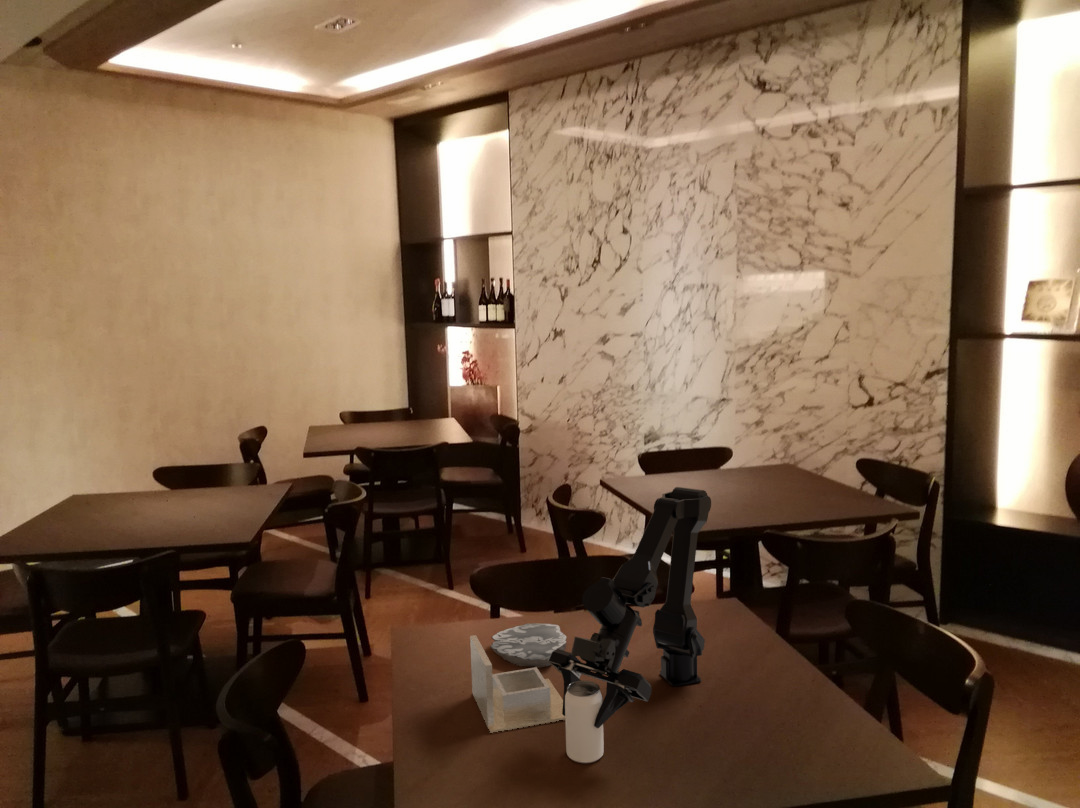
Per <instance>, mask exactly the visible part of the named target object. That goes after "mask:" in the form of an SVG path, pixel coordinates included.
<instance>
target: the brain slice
mask: <svg viewBox="0 0 1080 808" xmlns="http://www.w3.org/2000/svg"><path fill="white" fill-rule="evenodd" d="M491 639H492V640H493V642H491V644H490V648H491V649H492V651H493V652H494V653H495V654H497V655H498V656H501V657H502V658H503V659H504V661H506V660H507V661H506V662H510V663H511V664H512V663H513V664H512V665H515V664H516V665H515V666H518V665H519V667H522V666H529V667H533V666H534V667H533V668H535V667H538V668H539V669H541V668H540V667H542V668H544V666H546V668H547V667H550V666H552V665H551V664H550V663H549V662H548V659H549V657H550V655H551V653H552V652H553V651H554V650H556V649H559V650H563V651H566V647H567V635H566V634H564V632H562V631H561V627H560V626H559V624H553V623H524V624H523V625H516V626H514V627H510V628H506V629H503V630H502V631H501V630H500V631H498V632H496V633H495V634H493V635H492V636H491ZM538 668H537V669H538Z"/></svg>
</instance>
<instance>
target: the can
mask: <svg viewBox="0 0 1080 808" xmlns="http://www.w3.org/2000/svg"><path fill="white" fill-rule="evenodd" d="M603 700H604V698H603V694H602V692H601V688H600V685H599V684H597V683H596V682H594V681H591V680H581V681H576V682H573V683H571V684H569V685H568V687H567V693H566V695H565V720H564V721H565V750H566V754H567V757H568V758H569V759H571V760H572V761H573V762H575V763H579V764H592V763H595V762H597V761H599V760H600V759H601V758H602V757H603V755H604V749H605V748H604V746H605V745H604V723H603V724H602V725H601V726H600V727H599V728H596V727H595V726H594V724H595V720H596V717H597V715H598V712H599V710H600V708H601V705H602V703H603Z"/></svg>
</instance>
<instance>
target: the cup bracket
mask: <svg viewBox="0 0 1080 808" xmlns="http://www.w3.org/2000/svg"><path fill="white" fill-rule="evenodd" d="M469 640H470V643H469V646H470V664H471V665H470V667H471V670H470V671H471V687H472V688H471V689H472V690H471V691H472V696H473V698H474V700H475V702H477V703H476V704H477V706H478V707H477V708H478V710H479V712H480V711H481V712H480V713H481V716H482V718H483V721H484V720H485V721H484V724H485V725H486V727H487V730H488V729H489V730H488V732H489V731H490V732H489V734H490V733H492V734H494V733H493V732H497V733H499V732H498V731H502V732H505V731H504V730H508V731H513V730H518V729H517V728H519V729H523V727H524V728H529V727H528V726H530V727H534V725H535V726H540V725H539V724H541V725H545V723H546V724H551V723H550V722H552V723H555V722H556V721H557V722H560V721H559V720H563V721H565V716H564V715H563V714H562V710H563V697H562V696H561V695H560V693H559V692H558V691H557V689H556V688H555V686H554V684H553V683H552V681H551V680H550V679H549V678H544V676H543V675H542V673H541V672H540V669H538V668H537V667H530V668H529V667H528V668H524V669H517V670H511V671H506V672H503V671H502V672H498V673H497V672H496V673H493V664H492V662H491V660H490V659H489V657H488V655H487V653H486V651H485V649H484V647H483V645H482V644H481V642H480V640H479V638H478V637H477V635H476V634H475V635H474V634H473V635H470V636H469ZM512 729H513V730H512Z"/></svg>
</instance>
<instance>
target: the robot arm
mask: <svg viewBox="0 0 1080 808" xmlns="http://www.w3.org/2000/svg"><path fill="white" fill-rule="evenodd" d="M661 496H662V497H661ZM661 496H660V497H658V498H656V500H655V501H654V505H653V512H652V514H651V516H650V518H649V522H648V524H647V525H646V527H645V529H644V531H643V534H642V536H641V538H640V541H639V543H638V545H637V547H636V549H635V552H634V554H633V556H632V557H631V558H630V559H628V560H627V561H625V562H624V563H623V564H621V566H620V567H619V569H618V571H617V572H616V574H615V576H614V577H613V578H608V577H603V576H601V577H600V580H599V581H598V582H595V583H592V584H591V585H590V586H589V587H587V588H586V590H584V591H583V593H582V596H581V597H582V598H581V599H582V600H581V602H582V605H583V607H584V609H585V610H586V611H587V612H588V613H589V614H590V615H591V616H592V618H594V619H595V621H597V623H599V624H600V625H601V626H600V629H599V630H598V632H593V634H592V635H591V636H590V638H587V637H586V638H585V637H580V636H574V638H573V644H572V648H571V652H570V651H569V652H568V651H566V650H564V651H563V650H559V649H556V650H554V651H553V652H552V653H551V655H550V657H549V659H548V662H549V663H550V664H551V665H550V666H552V667H553V668H554V669H556V671H558V672H559V673H560V674H561V675H562V678H563V679H562V680H563V697H562V699H563V710H562V714H563V715H564V716H565V695H566V693H567V687H568V685H569V684H571V683H573V682H576V681H582V680H581V676H582V675H583V676H587V677H590V678H592V679H593V678H594V679H597V680H600V681H602V682H606V691H605V696H604V698H603V703H602V705H601V708H600V710H599V712H598V715H597V717H596V720H595V724H594V726H595V727H596V728H599V727H600V726H601V725H602V724H603V725H604V724H605V723H606V721H608V720H609V719H610V718H611V717H612V716H613V715H614V714H615V713H616V712H618V711H619V710H620V709H622V708H623V707H624V706H625V705H627V704H628V703H629V702H630V703H634V701H635V699H637V700H641V701H644V702H649V700H650V698H651V695H652V686H651V683H649V681H648V680H647V679H646V678H645V677H644V676H643V675H642V674H641V673H638V672H636V671H631V670H628V669H625V668H623V669H622V670H620V671H619V669H620V668H621V665H622V662H623V659H624V658H628V657H629V655H630V653H631V652H630V651H629V650H628V647H629V646H630V645H629V644H630V642H631V639H632V637H633V634H634V632H635V629H636V627H642V626H643V622H642V618H641V616H640V611H639V610H636V609H633V608H632V607H631V606H634V607H639V608H642V609H643V608H645V607H649V606H650V605H651V604H652V602H653V601H654V600H655V597H656V594H657V593H656V592H657V591H656V590H657V588H658V585H659V579H658V575H657V571H658V567H659V565H660V562H661V560H662V558H663V556H664V553H665V550H666V548H667V546H668V544H669V541H670V539H671V537H672V544H671V545H672V546H671V553H670V554H671V555H670V563H669V571H668V581H667V582H668V583H667V592H666V600H665V602H664V603H663V605H662V606H661V607H660V609H659V608H658V609H656V610H655V613H654V623H653V627H652V634H653V639H654V643H655V646H656V649H661V650H662V656H660V670H659V674H660V676H662V677H663V679H664V680H666V682H668V683H669V684H670V685H671V686H672V687H678V686H685V685H691V684H696V683H701V682H702V678H701V677H700V676H699V675H698V657H699V656H703V651H704V649H705V642H706V641H705V640H706V639H705V638H704V637H703V636H702V634H701V633H700V632H699V630H698V629H697V628H698V627H697V626H698V618H697V616H696V613H695V611H694V609H693V607H692V605H691V604H692V603H691V602H692V591H693V581H694V573H695V563H696V555H697V544H698V535H699V532H700V531H701V530H702V528H703V527H704V526H705V525H706V524H707V521H708V519H709V518H708V517H709V514H710V511H711V508H712V499H711V496H708V493H707V491H706V490H705V489H704V490H703V489H698V488H697V489H696V488H690V487H688V488H687V487H680V486H676V487H674V488H673V489H672V491H669V492H665V493H662V494H661ZM672 535H673V536H672ZM629 605H630V606H629ZM578 657H579V658H580V659H581V660H582V661H583V662H582V661H580V660H579V659H578Z"/></svg>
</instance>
